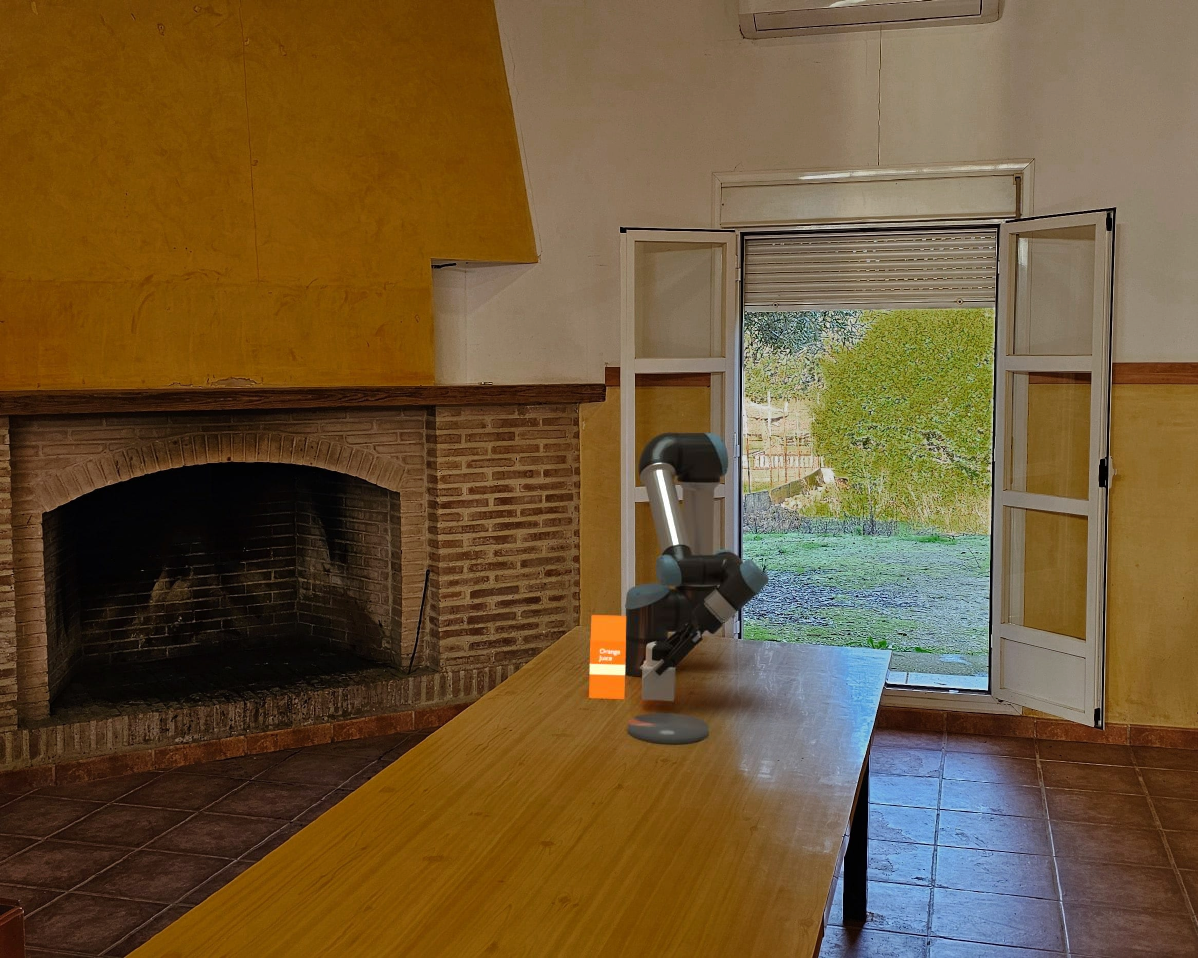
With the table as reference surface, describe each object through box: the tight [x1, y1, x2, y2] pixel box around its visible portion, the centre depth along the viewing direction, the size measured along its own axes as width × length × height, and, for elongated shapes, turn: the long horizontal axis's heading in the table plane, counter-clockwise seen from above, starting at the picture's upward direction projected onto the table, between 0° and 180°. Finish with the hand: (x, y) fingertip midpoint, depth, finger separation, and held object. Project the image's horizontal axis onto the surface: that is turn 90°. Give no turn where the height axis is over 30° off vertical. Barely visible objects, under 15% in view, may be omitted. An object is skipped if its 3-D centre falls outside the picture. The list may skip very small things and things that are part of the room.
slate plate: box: [627, 712, 709, 745], centre depth 250 cm, size 18×18×2 cm
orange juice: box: [588, 614, 626, 700], centre depth 279 cm, size 8×9×20 cm
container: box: [641, 641, 676, 702], centre depth 270 cm, size 8×8×13 cm
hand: (645, 676), depth 270 cm, fingers closed on container, 8 cm apart
